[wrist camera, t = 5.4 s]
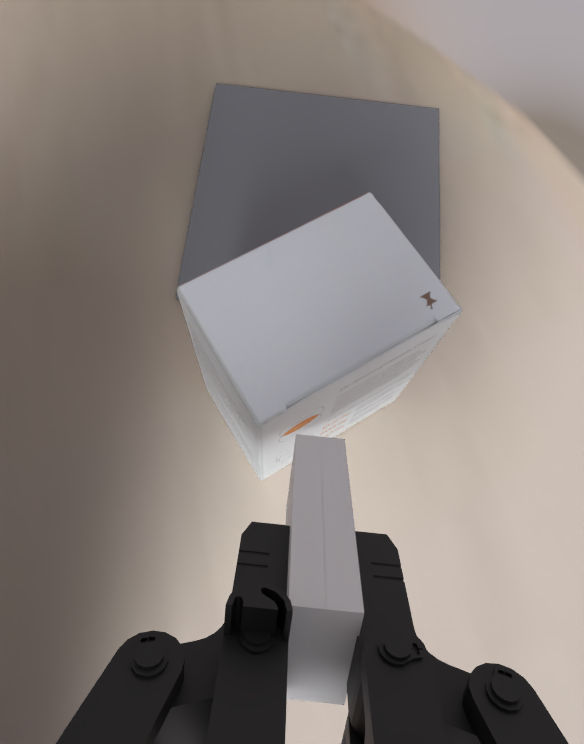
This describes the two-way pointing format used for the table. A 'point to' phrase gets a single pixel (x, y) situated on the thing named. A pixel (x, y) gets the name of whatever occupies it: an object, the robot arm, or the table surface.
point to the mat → (308, 170)
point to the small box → (314, 329)
